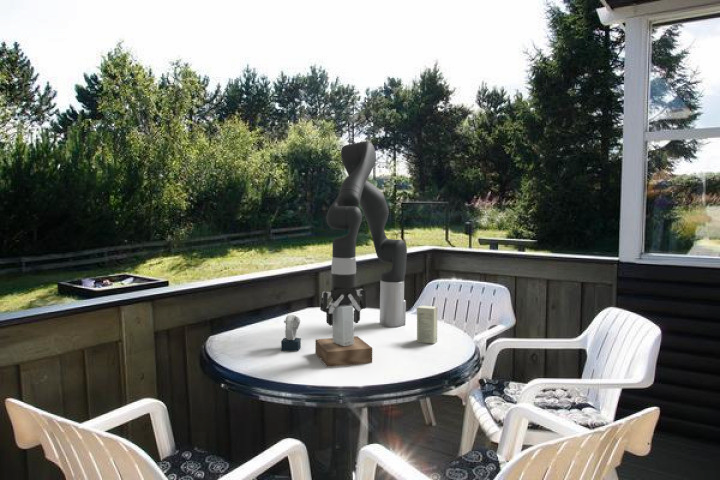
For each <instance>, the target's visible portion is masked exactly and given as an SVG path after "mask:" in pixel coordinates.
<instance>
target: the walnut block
mask: <svg viewBox="0 0 720 480" xmlns="http://www.w3.org/2000/svg"><path fill="white" fill-rule="evenodd" d="M314 346H315V353H314V354H315V355H316V356H317V357H318V358H319V359H320V360H321V362H322V363H323V364H324V365H325V366H326V368H330V367H341V366H352V365H362V364H371V363H373V347H372V346H370V345H369V344H368V343H367V342H365V341H364V340H363V339H362V338H360V337H359V336H358V335H354V344H353V345H349V346H341V345H339V344H336V343H334V342H333V337H330V338H316V339H315V345H314Z"/></svg>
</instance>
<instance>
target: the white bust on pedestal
mask: <svg viewBox="0 0 720 480" xmlns="http://www.w3.org/2000/svg"><path fill="white" fill-rule="evenodd" d="M283 324H285V330H284V332H285V333H284V334H285V337H283V338H282V339H281V341H280V342H281V343H280V349H281V351H283V352H299V351H300V349H301V347H302V346H301V344H302V342H301V341H302V340H301V337H296V336H297V332H298V331H297V330H298V329H299V326H300V325H301V319H300V317H298V316H297V315H294V314H291V315H289V314H288V315H286V317H285V320H283Z"/></svg>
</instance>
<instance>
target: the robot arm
mask: <svg viewBox="0 0 720 480" xmlns="http://www.w3.org/2000/svg"><path fill="white" fill-rule="evenodd" d="M376 154H377V153H376V149H375V146H374V145H373V144H372V142H370V141H360V142H354V143H349V144H345V145H343V146H342V147H341V150H340V156H341V157H340V158H341V161H342V164H343V167H344V169H345V171H346V173H347V175H348V176H346V178H345V179H344V180H343V182H342V184H341V186H340V188H339V192H338V196H337V197H336V199H335V200H334V201H333V202H332V204H331V205H330V207H329V208H328V210H327V212H326V213H327V214H326V218H325V219H326V223H327V225H328V226H329V228H331V229H333V230H348V233H347V234H346V235H344V236H338V237H335V238H333V240H332V251H331V252H332V257H331V258H332V260H331V272H330V273H331V281H330V282H331V283H330V284H331V285H330V287H331V289H330V291H324V290H323V291H321V293H320V307H319V308H320V309H319V310H320V311H321V312H324V313H326V323H327V324H328V326H331V327H332V325H333V314H332V312H333V310H334V309H335V308H336V307H337V306H338V305H344V304H346V305H350V306H353V323H355V324H358V323H359V322H360V320H361V311H362V310H364V309H366V308H367V298H366V297H367V296H366V289H363V288H358V289H357V262H356V251H357V249H356V246H357V245H356V244H357V237H358V233H359V229H360V227H361V224H362V220H363V215H364V218H365V220H366V222H367V225H368V228H369V232H370V234H371V238H372V242H373V246H374V250H375V254H376V256H377V259H378V260H379V261H380V262H382V263H385V264H386V263H387V264H391V269H389V270H387V271H383V272H381V273H380V284H379V285H380V287H379V288H380V289H379V290H380V292H379V325H381V326H383V327H387V328H388V327H389V328H391V327H392V328H398V327H402V326H405V325H406V319H407V317H406V315H407V313H406V312H407V307H406V306H407V300H405V277H406V276H405V275H406V273H407V272H406V271H407V257H408V247H407V244H406V242H405V241H404V240H402V239H392V238H388V237H387V235H386V231H385V226H386V224H387V221H388V219H389V218H388V217H389V213H390V211H389V206H388V203H387V200H386V197H385V195H384V194H383V192H382V191H381V190H380V189H379V188H377V186H375V185H374V184H373V183H371V182H370V181H368V179H369V177H370V175H371V173H372V171H373V168H374V167H375V164H376V159H377V155H376ZM359 205H360V207H361V209H360V207H359ZM362 212H363V214H362ZM356 296H358V301H359V302H357V300H355V298H356ZM330 297H331V298H332V299H331V300H330V301H329V303H328V300H329V299H330Z"/></svg>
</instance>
